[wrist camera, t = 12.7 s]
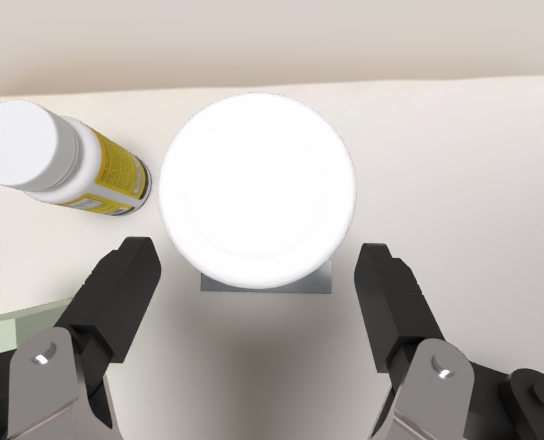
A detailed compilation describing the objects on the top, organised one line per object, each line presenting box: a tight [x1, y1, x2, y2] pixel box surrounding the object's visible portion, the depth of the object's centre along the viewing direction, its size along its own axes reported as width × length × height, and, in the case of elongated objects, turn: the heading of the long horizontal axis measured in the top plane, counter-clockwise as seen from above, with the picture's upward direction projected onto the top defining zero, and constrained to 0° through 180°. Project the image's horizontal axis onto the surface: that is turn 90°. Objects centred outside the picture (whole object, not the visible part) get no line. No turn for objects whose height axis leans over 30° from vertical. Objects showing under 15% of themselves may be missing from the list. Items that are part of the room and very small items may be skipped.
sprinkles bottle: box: [158, 92, 357, 289], centre depth 12 cm, size 5×5×14 cm
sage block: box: [0, 298, 73, 353], centre depth 15 cm, size 4×4×8 cm
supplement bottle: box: [0, 100, 151, 216], centre depth 16 cm, size 5×5×8 cm
